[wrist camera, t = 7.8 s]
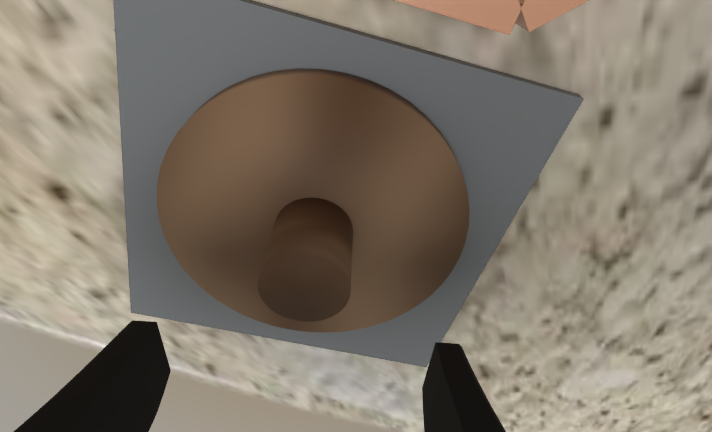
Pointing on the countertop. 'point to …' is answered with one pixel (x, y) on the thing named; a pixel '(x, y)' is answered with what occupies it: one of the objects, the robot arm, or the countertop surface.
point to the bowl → (499, 11)
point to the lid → (313, 201)
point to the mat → (337, 53)
